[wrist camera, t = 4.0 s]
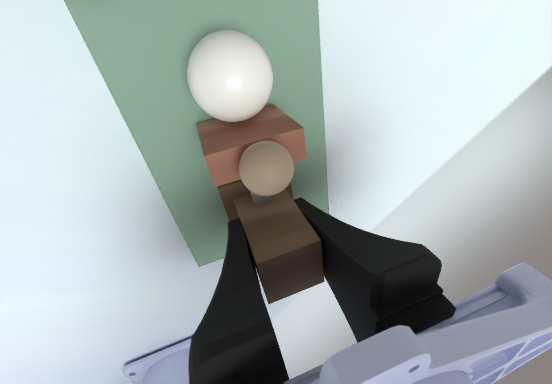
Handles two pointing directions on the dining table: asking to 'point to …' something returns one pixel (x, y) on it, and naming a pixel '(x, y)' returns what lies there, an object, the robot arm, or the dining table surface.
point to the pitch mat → (182, 106)
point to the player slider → (265, 196)
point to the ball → (229, 75)
